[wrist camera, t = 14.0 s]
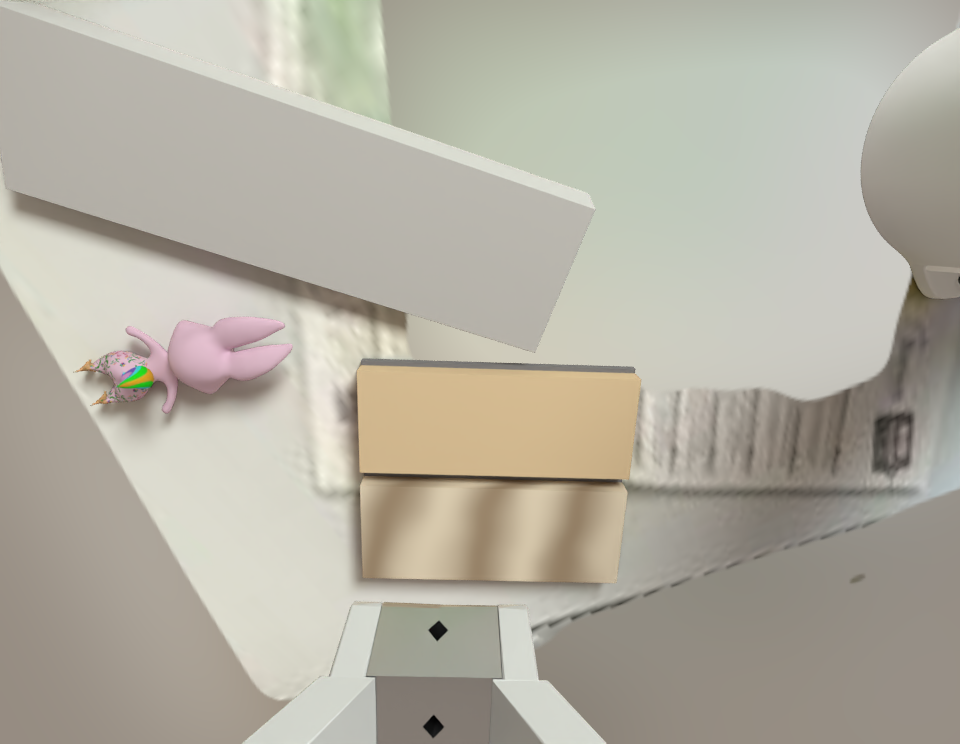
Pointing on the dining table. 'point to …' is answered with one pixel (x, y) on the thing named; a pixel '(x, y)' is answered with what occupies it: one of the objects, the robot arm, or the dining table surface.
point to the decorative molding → (279, 178)
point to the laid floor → (496, 420)
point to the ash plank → (491, 529)
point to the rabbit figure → (192, 359)
